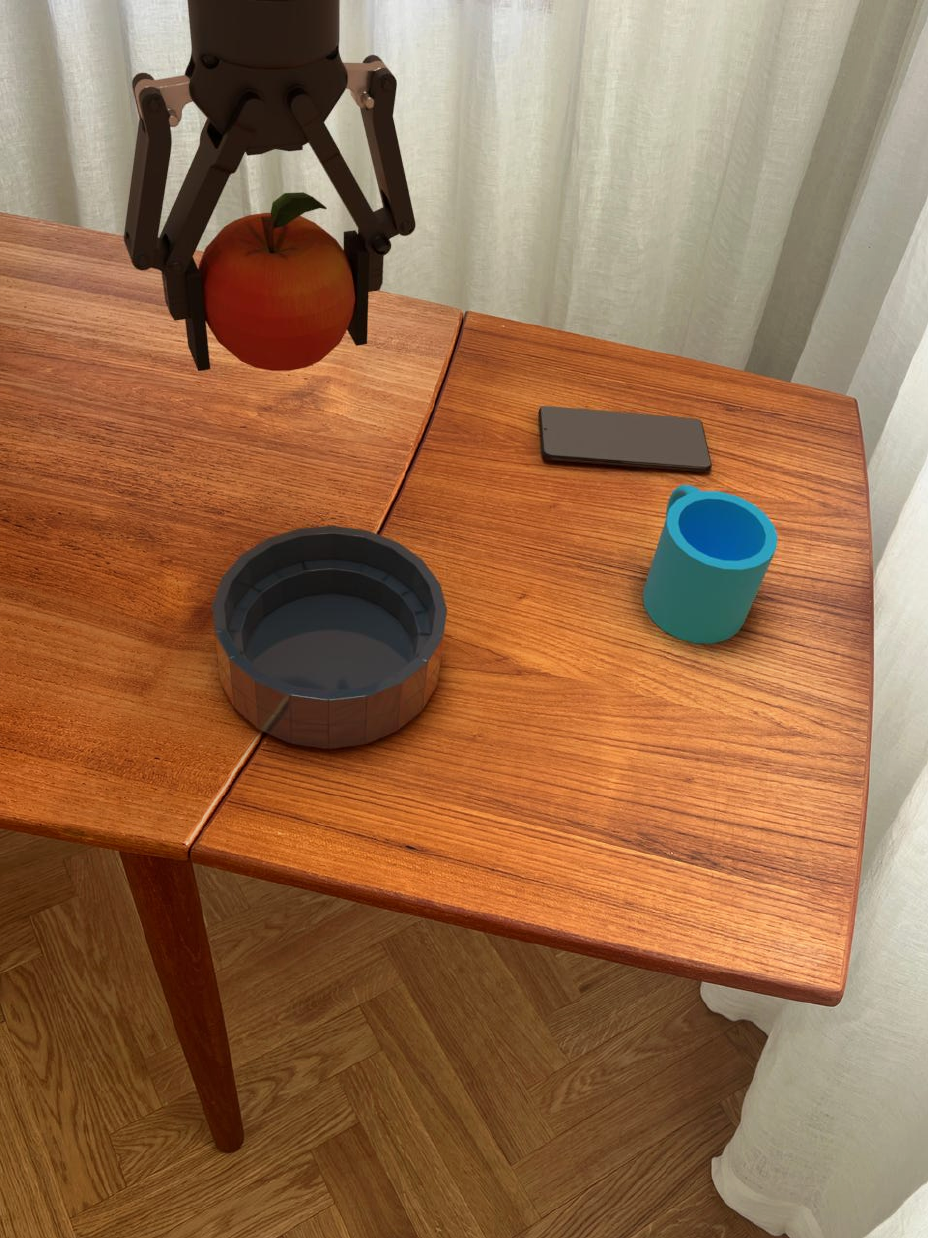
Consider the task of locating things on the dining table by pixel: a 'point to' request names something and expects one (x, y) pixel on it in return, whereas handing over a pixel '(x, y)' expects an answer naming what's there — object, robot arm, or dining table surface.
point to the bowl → (329, 636)
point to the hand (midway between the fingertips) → (278, 344)
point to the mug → (708, 565)
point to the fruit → (277, 287)
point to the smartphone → (623, 439)
